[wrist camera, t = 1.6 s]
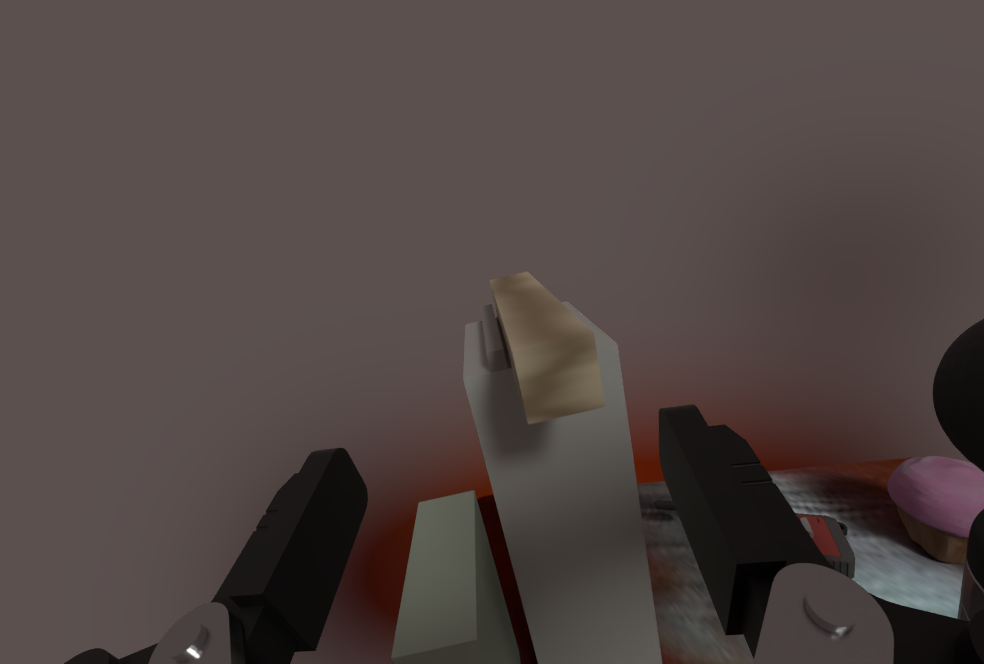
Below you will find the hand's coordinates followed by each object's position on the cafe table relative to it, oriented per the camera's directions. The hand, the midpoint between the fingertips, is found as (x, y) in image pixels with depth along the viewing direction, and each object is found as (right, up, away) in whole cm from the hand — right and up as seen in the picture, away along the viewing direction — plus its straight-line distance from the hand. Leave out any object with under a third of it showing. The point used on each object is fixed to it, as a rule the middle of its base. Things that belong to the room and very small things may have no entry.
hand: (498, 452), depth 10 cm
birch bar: (+3, +2, +21) cm, 21 cm away
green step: (+1, -32, +24) cm, 40 cm away
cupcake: (+47, -19, +31) cm, 59 cm away
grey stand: (+10, -27, +34) cm, 44 cm away
